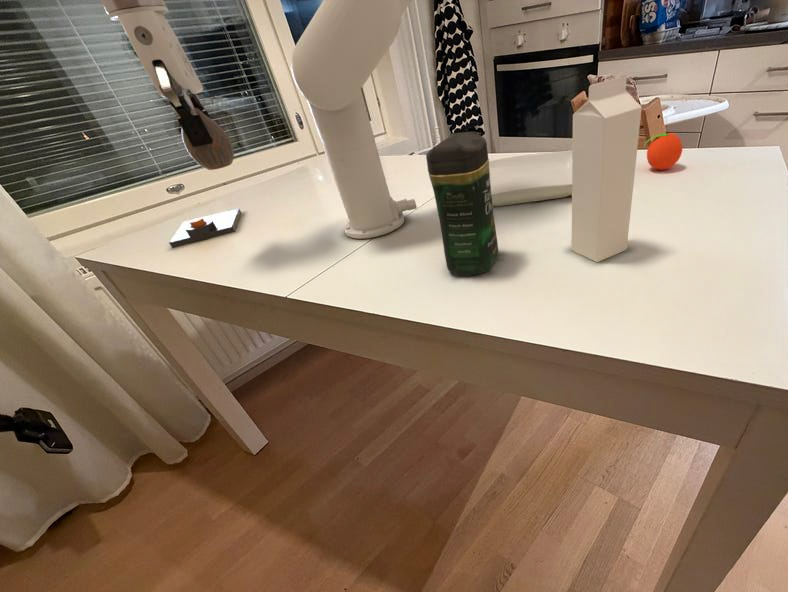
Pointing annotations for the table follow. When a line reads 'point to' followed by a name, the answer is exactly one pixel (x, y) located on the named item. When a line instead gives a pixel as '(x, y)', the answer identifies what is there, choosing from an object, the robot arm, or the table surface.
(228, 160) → the vase
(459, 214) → the coffee jar
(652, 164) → the tomato
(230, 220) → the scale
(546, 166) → the square plate
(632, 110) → the milk
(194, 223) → the orange angular block
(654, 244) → the table surface
